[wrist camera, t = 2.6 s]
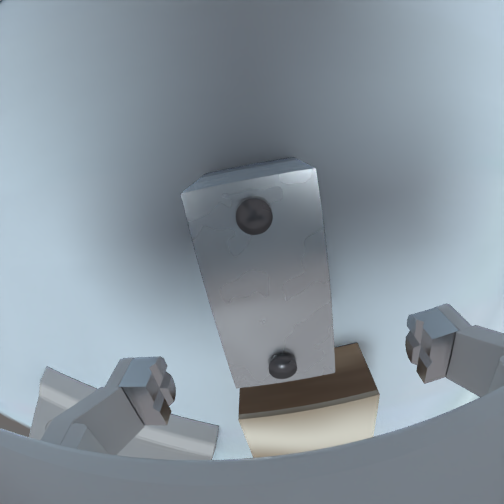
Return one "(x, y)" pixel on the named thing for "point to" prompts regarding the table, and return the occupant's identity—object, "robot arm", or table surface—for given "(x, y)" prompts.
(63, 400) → the hinge
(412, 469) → the robot arm
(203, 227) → the block
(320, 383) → the stand
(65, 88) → the table surface
